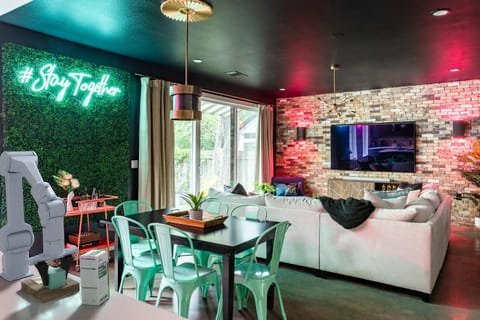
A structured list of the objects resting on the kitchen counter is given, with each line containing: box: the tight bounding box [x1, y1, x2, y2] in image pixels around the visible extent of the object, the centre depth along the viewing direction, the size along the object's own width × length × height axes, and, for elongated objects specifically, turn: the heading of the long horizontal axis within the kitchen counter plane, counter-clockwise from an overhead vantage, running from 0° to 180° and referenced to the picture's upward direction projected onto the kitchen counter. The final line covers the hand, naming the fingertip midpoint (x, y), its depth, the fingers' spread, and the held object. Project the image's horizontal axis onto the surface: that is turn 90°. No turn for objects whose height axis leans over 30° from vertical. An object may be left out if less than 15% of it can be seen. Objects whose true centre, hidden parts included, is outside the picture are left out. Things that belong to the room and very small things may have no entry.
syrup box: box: [79, 249, 111, 306], centre depth 105 cm, size 6×6×14 cm
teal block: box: [44, 267, 66, 290], centre depth 111 cm, size 4×4×7 cm
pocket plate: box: [20, 275, 81, 304], centre depth 113 cm, size 16×11×3 cm
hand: (55, 282), depth 111 cm, fingers open, 5 cm apart
